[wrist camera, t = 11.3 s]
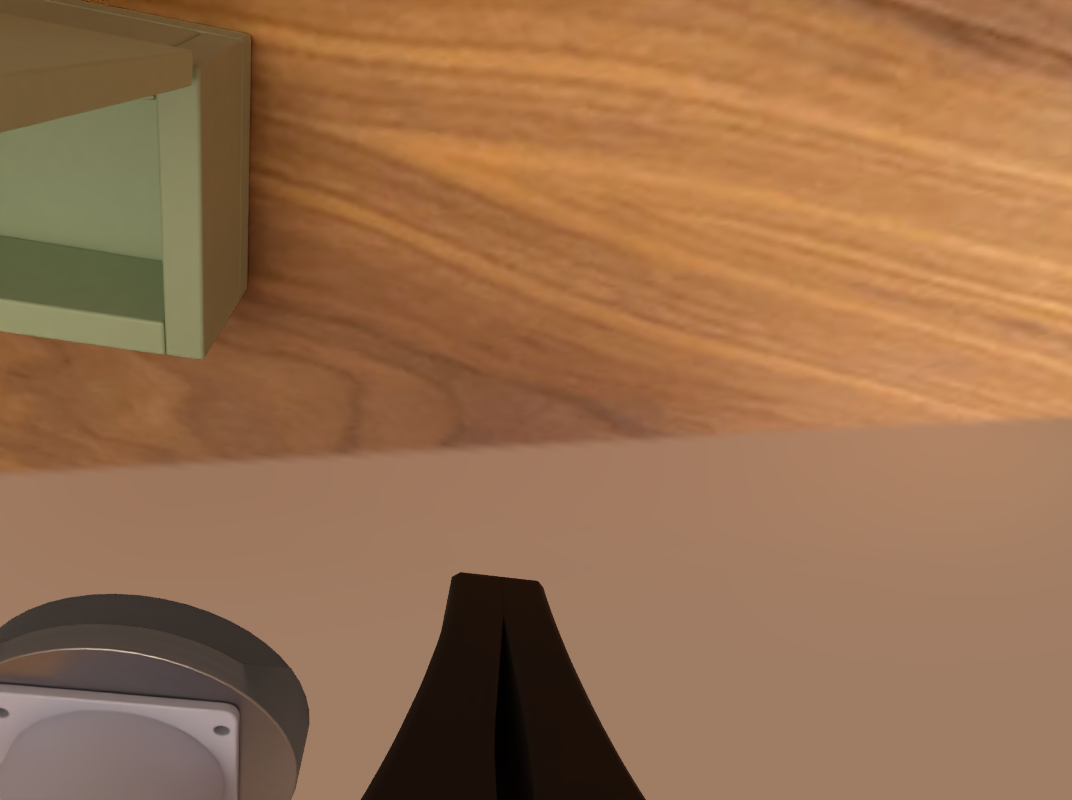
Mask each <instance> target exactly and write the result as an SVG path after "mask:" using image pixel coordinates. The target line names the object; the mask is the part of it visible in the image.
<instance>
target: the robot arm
mask: <svg viewBox="0 0 1072 800" xmlns="http://www.w3.org/2000/svg"><path fill="white" fill-rule="evenodd" d="M239 722H240V713H239V710H238V709H237V708H236V707H235V706H234V705H232V704H229V703H223V702H211V701H200V700H188V699H176V698H165V697H153V696H141V695H129V694H118V693H106V692H94V691H83V690H71V689H59V688H48V687H36V686H24V685H13V684H0V800H238V785H239ZM361 800H646V799H645V798H644V796H643V795H642V793H641V792H640V790H639V788H638V787H637V785H636V784H635V782H634V780H633V779H632V777H631V775H630V774H629V772H628V771H627V769H626V767H625V766H624V764H623V762H622V760H621V758H620V757H619V755H618V753H617V751H616V750H615V748H614V746H613V744H612V742H611V741H610V739H609V737H608V735H607V733H606V731H605V730H604V728H603V726H602V724H601V722H600V720H599V718H598V716H597V714H596V712H595V711H594V709H593V707H592V705H591V702H590V700H589V698H588V696H587V694H586V692H585V690H584V688H583V686H582V684H581V682H580V679H579V677H578V675H577V673H576V671H575V669H574V667H573V664H572V662H571V660H570V658H569V655H568V653H567V651H566V648H565V646H564V643H563V641H562V638H561V636H560V634H559V631H558V629H557V626H556V623H555V621H554V618H553V615H552V613H551V610H550V607H549V604H548V601H547V598H546V595H545V592H544V589H543V587H542V585H541V584H540V583H539V582H538V581H533V580H524V579H515V578H506V577H497V576H488V575H480V574H471V573H462V572H460V573H459V574H457V575H455V576H453V577H452V580H451V585H450V590H449V595H448V600H447V605H446V610H445V615H444V620H443V626H442V630H441V634H440V637H439V640H438V643H437V646H436V648H435V651H434V654H433V656H432V659H431V661H430V664H429V666H428V669H427V671H426V674H425V677H424V679H423V681H422V684H421V686H420V688H419V690H418V693H417V695H416V697H415V699H414V701H413V703H412V705H411V708H410V709H409V712H408V714H407V716H406V718H405V720H404V722H403V724H402V726H401V728H400V731H399V732H398V734H397V736H396V738H395V740H394V742H393V744H392V746H391V748H390V750H389V751H388V753H387V755H386V757H385V759H384V761H383V762H382V764H381V766H380V768H379V770H378V771H377V773H376V775H375V777H374V778H373V780H372V782H371V784H370V785H369V787H368V789H367V790H366V792H365V794H364V795H363V797H362V799H361Z"/></svg>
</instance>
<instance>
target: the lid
mask: <svg viewBox="0 0 1072 800" xmlns="http://www.w3.org/2000/svg"><path fill="white" fill-rule="evenodd" d="M192 68H193V53H192V51H191V50H188V49H183V48H178V47H173V46H168V45H163V44H157V43H152V42H147V41H142V40H137V39H132V38H127V37H121V36H116V35H111V34H106V33H101V32H96V31H91V30H85V29H80V28H75V27H70V26H65V25H60V24H55V23H50V22H44V21H39V20H34V19H29V18H24V17H19V16H14V15H8V14H3V13H0V133H2V132H6V131H11V130H15V129H19V128H23V127H27V126H31V125H35V124H39V123H43V122H47V121H51V120H55V119H59V118H63V117H67V116H72V115H76V114H80V113H84V112H88V111H92V110H96V109H100V108H104V107H108V106H112V105H116V104H120V103H124V102H128V101H132V100H137V99H141V98H145V97H149V96H153V95H157V94H161V93H165V92H169V91H173V90H177V89H181V88H185V87H189V86H192Z"/></svg>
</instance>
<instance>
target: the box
mask: <svg viewBox="0 0 1072 800" xmlns="http://www.w3.org/2000/svg"><path fill="white" fill-rule="evenodd" d="M0 13H3V14H8V15H14V16H19V17H24V18H29V19H34V20H39V21H44V22H50V23H55V24H60V25H65V26H70V27H75V28H80V29H85V30H91V31H96V32H101V33H106V34H111V35H116V36H121V37H127V38H132V39H137V40H142V41H147V42H152V43H157V44H163V45H168V46H173V47H178V48H183V49H188V50H191V51H192V53H193V68H192V86H189V87H185V88H181V89H177V90H173V91H169V92H165V93H161V94H157V95H153V96H149V97H145V98H141V99H137V100H132V101H128V102H124V103H120V104H116V105H112V106H108V107H104V108H100V109H96V110H92V111H88V112H84V113H80V114H76V115H72V116H67V117H63V118H59V119H55V120H51V121H47V122H43V123H39V124H35V125H31V126H27V127H23V128H19V129H15V130H11V131H6V132H2V133H0V331H1V332H8V333H15V334H22V335H29V336H36V337H43V338H50V339H57V340H64V341H71V342H78V343H85V344H92V345H99V346H106V347H113V348H120V349H127V350H134V351H141V352H148V353H155V354H165V353H167V354H168V355H170V356H177V357H184V358H191V359H198V360H202V359H204V357H205V356H206V354H207V353H208V351H209V349H210V348H211V346H212V344H213V343H214V341H215V340H216V338H217V336H218V335H219V333H220V331H221V330H222V328H223V327H224V325H225V323H226V322H227V320H228V318H229V317H230V315H231V313H232V312H233V310H234V309H235V307H236V305H237V304H238V302H239V300H240V299H241V297H242V295H243V294H244V292H245V291H246V289H247V274H248V213H249V152H250V92H251V36H250V35H249V34H247V33H243V32H238V31H233V30H228V29H223V28H218V27H213V26H208V25H203V24H198V23H193V22H188V21H182V20H177V19H172V18H167V17H162V16H157V15H152V14H147V13H142V12H137V11H132V10H127V9H122V8H117V7H112V6H107V5H102V4H97V3H92V2H87V1H82V0H0Z"/></svg>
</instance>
